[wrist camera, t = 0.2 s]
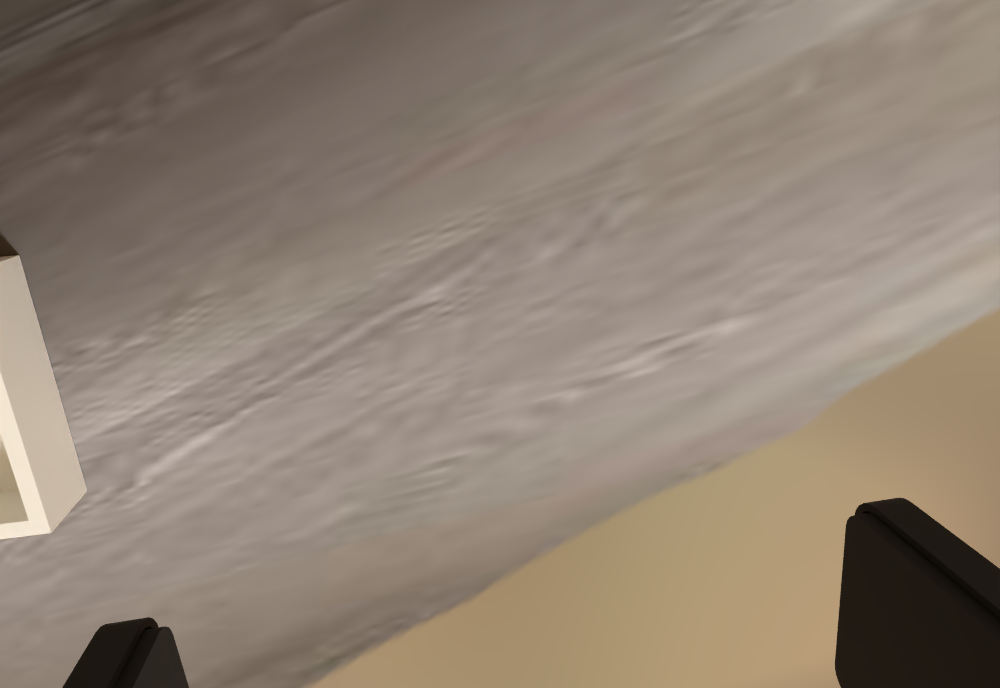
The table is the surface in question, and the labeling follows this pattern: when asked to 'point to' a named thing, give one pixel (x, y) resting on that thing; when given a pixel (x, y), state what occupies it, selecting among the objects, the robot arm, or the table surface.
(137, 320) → the table surface
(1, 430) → the tote
